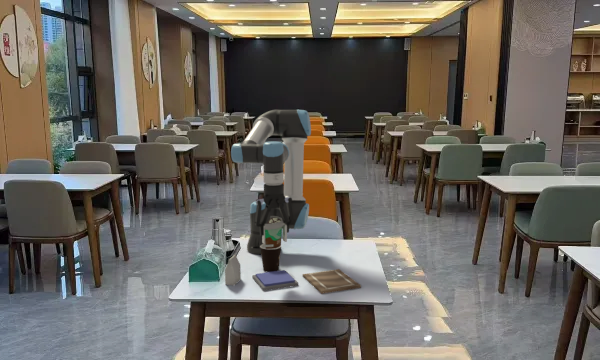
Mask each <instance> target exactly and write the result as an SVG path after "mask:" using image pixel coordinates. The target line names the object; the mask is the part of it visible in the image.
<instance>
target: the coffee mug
mask: <svg viewBox="0 0 600 360" xmlns="http://www.w3.org/2000/svg"><path fill="white" fill-rule="evenodd" d="M260 249H261V254H260V255H261V261H262V270H263V271H264V273H266V272H274V271H280V269H279V268H280V262H281V253H282V252H281V251H282V245H281V246H280V247H277V248H273V249H266V245H265V244H262V245H261V246H260Z"/></svg>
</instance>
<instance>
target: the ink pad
mask: <svg viewBox="0 0 600 360" xmlns="http://www.w3.org/2000/svg"><path fill="white" fill-rule="evenodd" d="M252 280H254V282H255V284H256V285H257V286H258V287H259V288H260V289H261V291H263V292H264V291H271V289H272V290H277V289H278V288H279V289H285V288H284V287H286V288H291V287H290V286H293V287H298V286H299V282H298V281H297V280H296V279H295V277H293V276H292V275H291V274H290V273H289V272H288V271H287V270H285V269H283V270H278V271H274V272H261V273H260V272H259V273H255V274H253V275H252Z"/></svg>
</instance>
